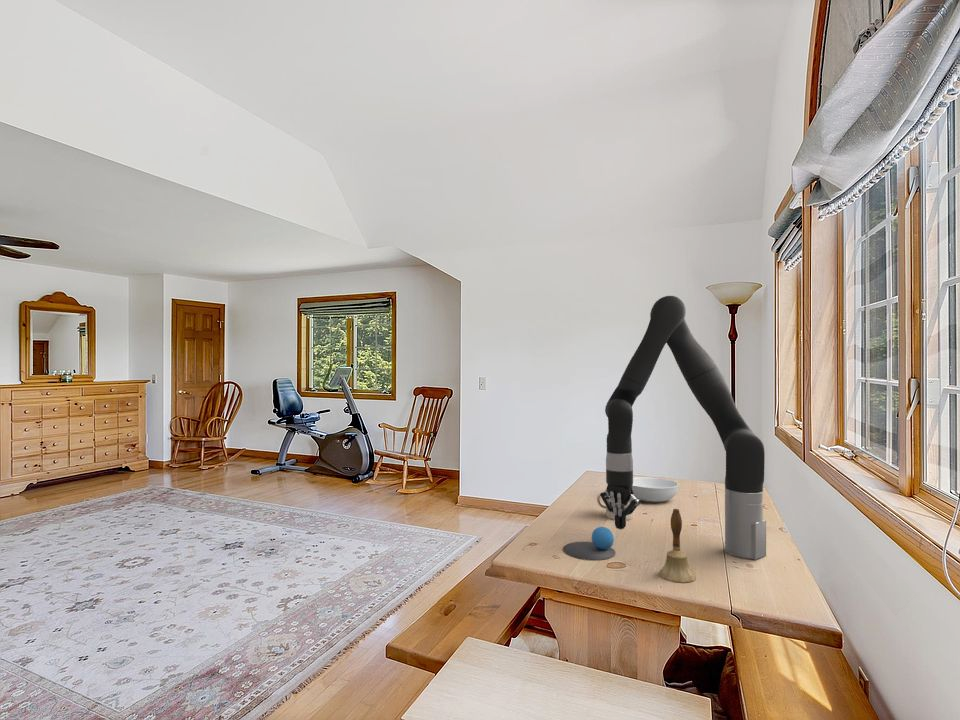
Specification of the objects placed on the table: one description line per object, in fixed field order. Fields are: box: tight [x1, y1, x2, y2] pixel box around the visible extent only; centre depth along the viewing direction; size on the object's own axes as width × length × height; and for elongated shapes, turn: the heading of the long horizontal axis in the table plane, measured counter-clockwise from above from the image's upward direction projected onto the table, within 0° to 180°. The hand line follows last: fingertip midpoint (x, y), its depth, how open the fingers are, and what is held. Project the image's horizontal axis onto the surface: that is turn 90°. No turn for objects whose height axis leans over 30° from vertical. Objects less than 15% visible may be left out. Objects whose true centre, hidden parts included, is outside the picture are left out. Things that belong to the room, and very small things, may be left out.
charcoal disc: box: [562, 541, 616, 561], centre depth 141 cm, size 14×14×1 cm
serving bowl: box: [632, 476, 680, 503], centre depth 198 cm, size 21×21×7 cm
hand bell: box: [658, 508, 696, 584], centre depth 124 cm, size 8×8×16 cm
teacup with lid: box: [596, 494, 634, 521], centre depth 174 cm, size 12×9×12 cm
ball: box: [591, 526, 615, 550], centre depth 142 cm, size 6×6×6 cm
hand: (620, 528), depth 148 cm, fingers closed
